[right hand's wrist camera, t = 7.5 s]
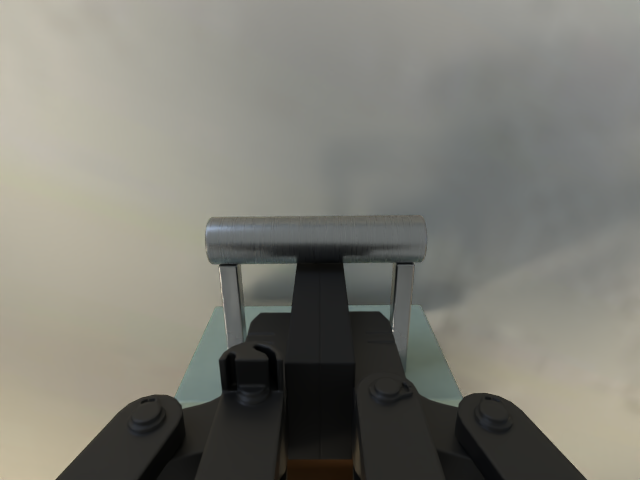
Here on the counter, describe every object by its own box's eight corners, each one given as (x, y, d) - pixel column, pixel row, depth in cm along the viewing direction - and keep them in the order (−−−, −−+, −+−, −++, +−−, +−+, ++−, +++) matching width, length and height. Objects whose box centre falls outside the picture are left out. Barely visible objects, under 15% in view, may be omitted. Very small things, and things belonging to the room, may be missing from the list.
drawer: (201, 184, 17) (141, 235, 11) (432, 181, 17) (490, 233, 11) (238, 504, 24) (213, 637, 18) (402, 503, 24) (428, 635, 18)
